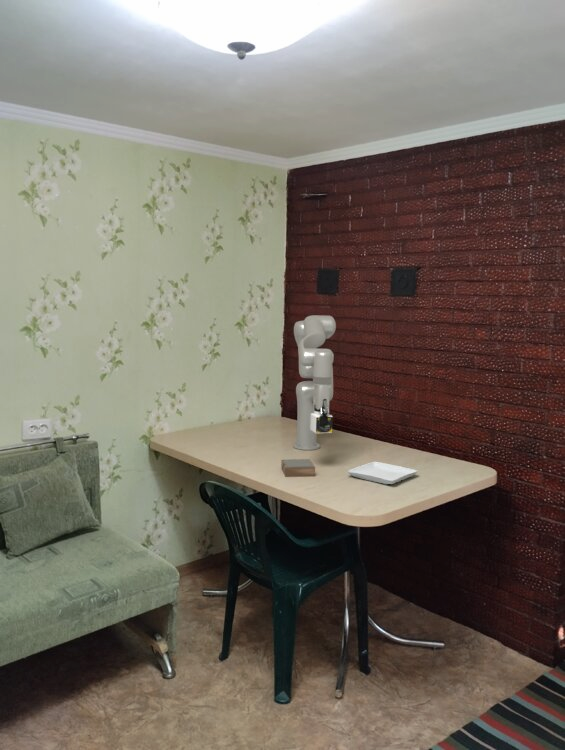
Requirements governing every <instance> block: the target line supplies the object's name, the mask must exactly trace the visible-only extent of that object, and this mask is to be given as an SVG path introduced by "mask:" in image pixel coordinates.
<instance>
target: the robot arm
mask: <svg viewBox="0 0 565 750" xmlns="http://www.w3.org/2000/svg"><path fill="white" fill-rule="evenodd" d="M336 329H337V323H336V320H335V319H334V317H333V316H332V315H315V314H314V315H313V314H312V315H308V316H306V317H305V318H304V320H299V321H296V322H295V323H294V326H293V335H294V340H295V342H296V345H297V347H298V348H297V350H298V351H297V352H298V374H299V375H300V377H301V378H302V379H312V380H304V381H301V382H299V383H297V385H296V387H295V394H296V401H297V405H296V406H297V410H296V411H297V413H296V414H297V418H296V419H297V421H296V422H297V423H296V442H294V443H293V444H292V445H293V446H292V447H293V448H295V449H296V450H302V451H303V450H304V451H314V450H319V448H320V447H321V444H320V443H319V442H318V434H316V433H314V432H313V431H311V430H310V422H311V413H314V406H315V405H316V409H317V410H319V409H320V414H321V416H320V426H327V425H328V414H329V413H328V411H327V410H328V409H329V410H330V401H332V399H333V396H334V368H333V363H334V357H335V356H334V352H333V351H332V349H329V348H319V347H321V346H322V345H324V344H325V342H326V340H327V339H330V338H331V337H332V336H333V335H334V334H335V331H336ZM322 407H324V408H322ZM322 411H323V412H322Z"/></svg>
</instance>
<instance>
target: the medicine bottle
mask: <svg viewBox="0 0 565 750" xmlns="http://www.w3.org/2000/svg"><path fill="white" fill-rule="evenodd" d="M322 408H324V407H322ZM327 411H328V425H327V426H320V416H321V414H320V409H319V410H317V409H316V405H315V406H314V413H311V422H310V430H311V431H313V432H314V433H316V434H317V435H318V434H332V433H333V420H334V419H333V418H334V417H333V415H332V414H330V408H329V409H328V410H327ZM322 412H323V411H322Z"/></svg>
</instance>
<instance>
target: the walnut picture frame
mask: <svg viewBox="0 0 565 750" xmlns="http://www.w3.org/2000/svg"><path fill="white" fill-rule="evenodd" d="M280 466H281V468H280V469H281V471H282V473H283V474H284V477H285V478H288V477H289V478H291V477H292V478H293V477H294V478H296V477H297V478H298V477H316V467H315V465H314V463H313V462H312V461H311V459H309V458H302V459H301V458H299V459H295V458H294V459H292V458H291V459H281V465H280Z"/></svg>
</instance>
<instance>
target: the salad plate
mask: <svg viewBox="0 0 565 750" xmlns="http://www.w3.org/2000/svg"><path fill="white" fill-rule="evenodd" d="M418 471H419V470H417V469H413V468H408V467H404V466H400V465H395V464H391V463H385V462H379V461H372V462H368V463H365V464H362V465H358V466H356V467H354V468H351V469H348V470H347V473H348V474H349V475H350V476H353V477H355V478H358V479H361V480H363V481H369V482H372V481H373V483H377V482H378V484H381V483H383V484H382V485H387V484H391V485H394V484H396V482H397V483H399V482H402V481H404V480H406V479H408V478H411V477H413V476H415V475H416V474H417V473H418ZM401 480H402V481H401Z"/></svg>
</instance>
